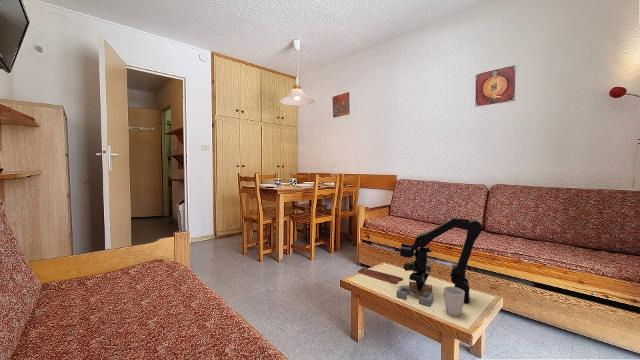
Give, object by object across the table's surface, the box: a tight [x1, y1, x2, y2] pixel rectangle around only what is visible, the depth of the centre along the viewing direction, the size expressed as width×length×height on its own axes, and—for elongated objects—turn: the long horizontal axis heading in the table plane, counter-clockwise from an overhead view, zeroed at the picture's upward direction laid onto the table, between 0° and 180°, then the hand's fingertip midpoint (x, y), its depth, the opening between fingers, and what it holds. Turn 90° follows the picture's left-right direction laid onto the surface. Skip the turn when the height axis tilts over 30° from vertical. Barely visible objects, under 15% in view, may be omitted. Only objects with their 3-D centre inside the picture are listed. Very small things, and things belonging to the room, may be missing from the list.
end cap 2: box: [418, 292, 434, 307], centre depth 126 cm, size 5×7×3 cm, turn 144°
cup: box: [443, 286, 465, 317], centre depth 116 cm, size 8×8×10 cm
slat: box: [408, 280, 433, 294], centre depth 137 cm, size 11×4×4 cm, turn 63°
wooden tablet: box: [357, 267, 404, 285], centre depth 157 cm, size 27×10×2 cm, turn 50°
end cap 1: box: [395, 285, 412, 301], centre depth 132 cm, size 5×7×3 cm, turn 144°
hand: (420, 289), depth 137 cm, fingers open, 4 cm apart
